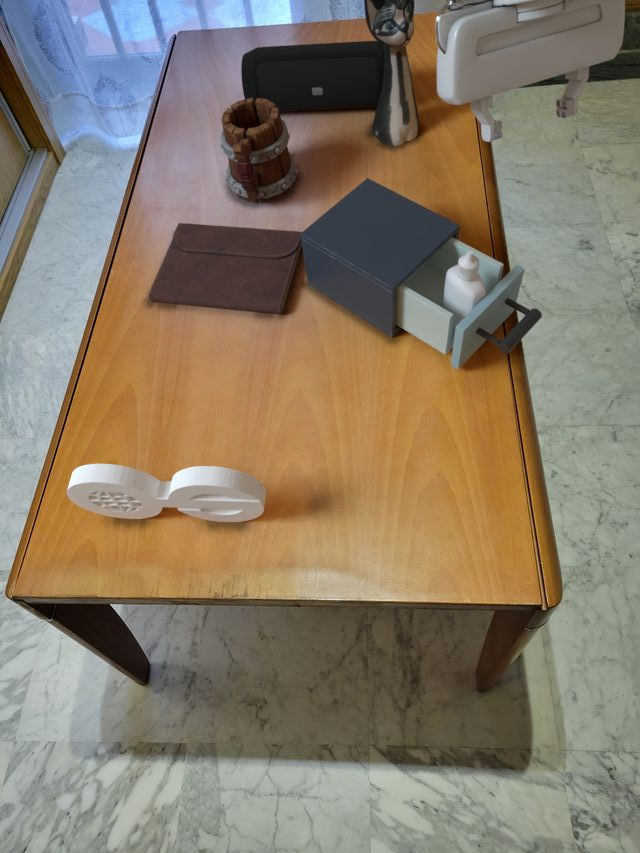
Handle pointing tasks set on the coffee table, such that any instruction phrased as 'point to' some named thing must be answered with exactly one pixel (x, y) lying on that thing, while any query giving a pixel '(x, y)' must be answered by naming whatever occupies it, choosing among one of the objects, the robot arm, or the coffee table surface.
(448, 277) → the eye dropper bottle
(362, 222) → the cabinet
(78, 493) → the white double disc plate
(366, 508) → the coffee table surface
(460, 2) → the robot arm
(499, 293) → the drawer
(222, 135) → the mug
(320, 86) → the portable speaker
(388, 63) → the figurine
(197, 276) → the brown leather sleeve case
